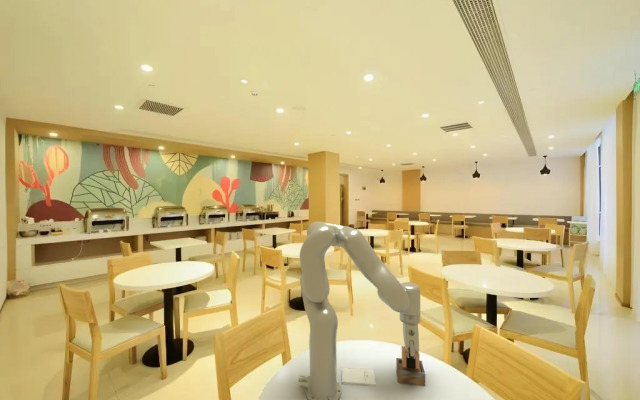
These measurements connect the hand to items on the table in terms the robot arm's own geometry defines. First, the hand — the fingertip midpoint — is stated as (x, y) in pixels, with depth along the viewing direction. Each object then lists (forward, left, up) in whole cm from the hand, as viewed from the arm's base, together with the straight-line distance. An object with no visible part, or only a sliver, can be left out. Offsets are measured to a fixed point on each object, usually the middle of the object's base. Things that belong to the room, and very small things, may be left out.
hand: (410, 363), depth 104 cm
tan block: (0, 0, 0) cm, 0 cm away
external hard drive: (-19, -4, -6) cm, 21 cm away
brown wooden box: (0, 0, -5) cm, 5 cm away
